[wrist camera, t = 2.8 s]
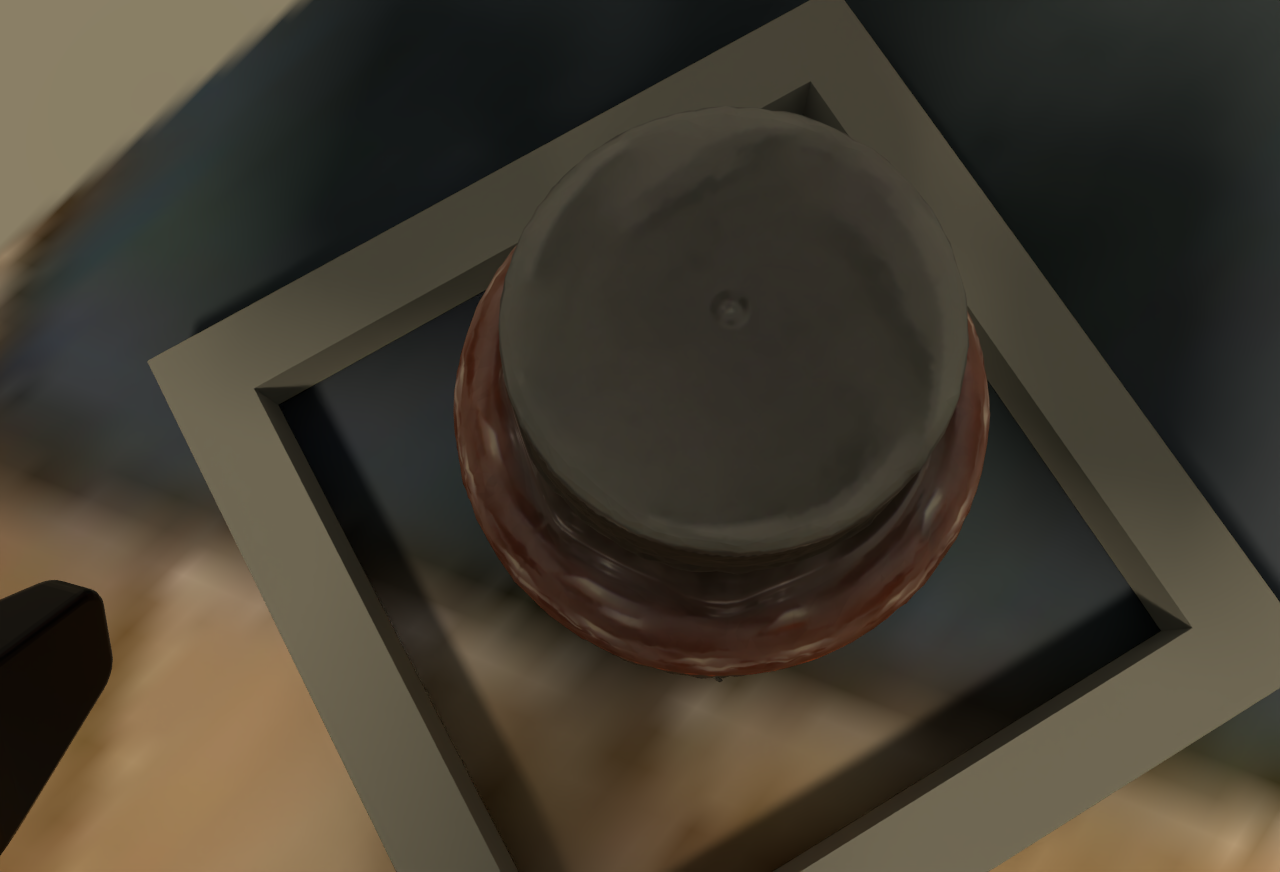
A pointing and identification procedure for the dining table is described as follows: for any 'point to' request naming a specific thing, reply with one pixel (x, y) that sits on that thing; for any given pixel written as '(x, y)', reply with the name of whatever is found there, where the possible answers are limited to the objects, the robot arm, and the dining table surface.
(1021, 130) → the dining table surface
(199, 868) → the dining table surface
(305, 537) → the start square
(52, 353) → the dining table surface
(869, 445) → the supplement bottle
